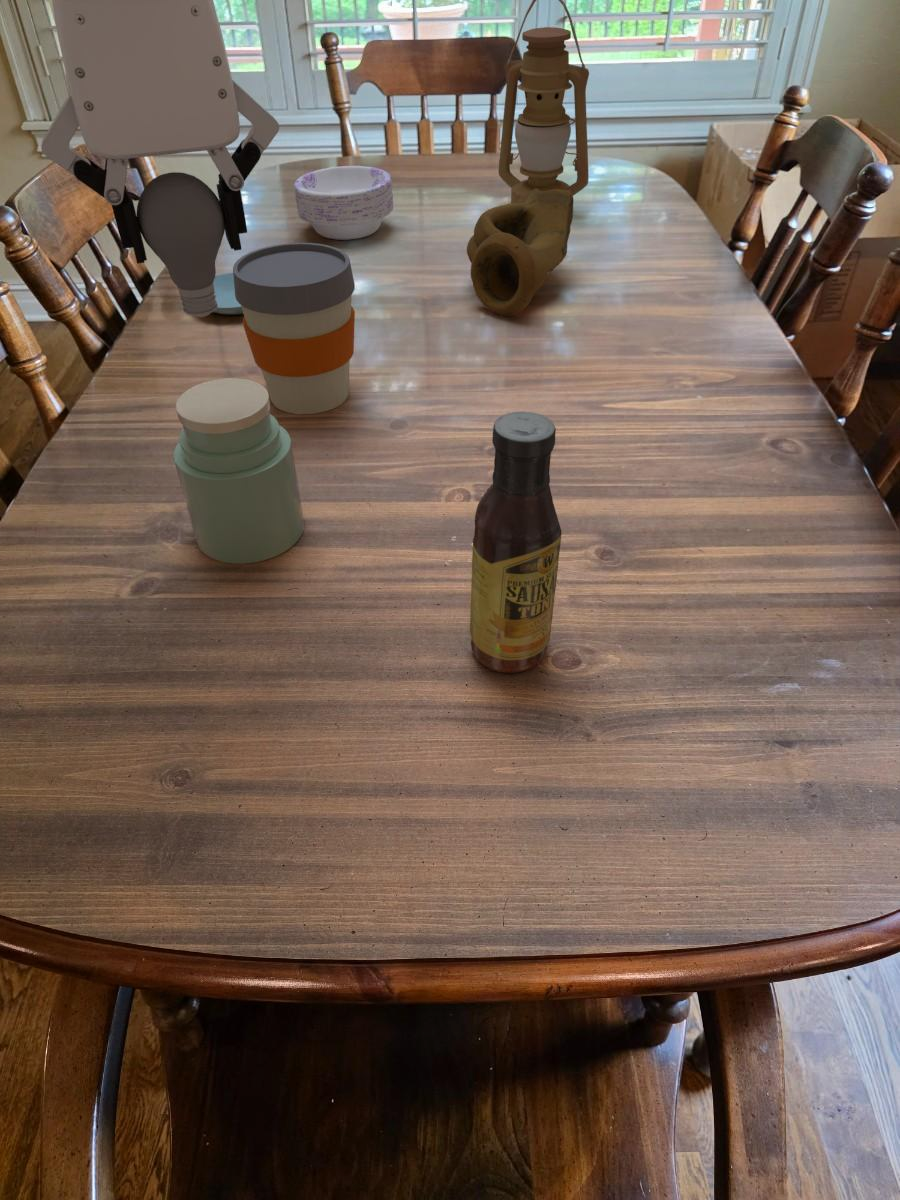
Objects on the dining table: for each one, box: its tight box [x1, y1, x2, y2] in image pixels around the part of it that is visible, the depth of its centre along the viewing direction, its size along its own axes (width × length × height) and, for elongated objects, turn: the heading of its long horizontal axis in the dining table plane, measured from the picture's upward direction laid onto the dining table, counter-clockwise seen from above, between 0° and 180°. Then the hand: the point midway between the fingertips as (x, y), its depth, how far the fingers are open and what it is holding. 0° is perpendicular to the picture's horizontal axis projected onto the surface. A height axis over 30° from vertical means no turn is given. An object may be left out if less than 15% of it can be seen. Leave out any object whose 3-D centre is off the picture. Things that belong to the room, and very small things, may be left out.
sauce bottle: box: [469, 411, 563, 674], centre depth 62 cm, size 6×6×20 cm
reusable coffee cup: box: [232, 242, 356, 415], centre depth 95 cm, size 13×13×15 cm
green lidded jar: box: [173, 377, 305, 565], centre depth 76 cm, size 10×10×14 cm
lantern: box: [498, 0, 590, 204], centre depth 135 cm, size 15×10×30 cm
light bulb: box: [136, 171, 225, 318], centre depth 63 cm, size 6×6×10 cm
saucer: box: [213, 272, 244, 316], centre depth 118 cm, size 12×12×2 cm
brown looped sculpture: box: [466, 188, 574, 317], centre depth 119 cm, size 18×13×22 cm
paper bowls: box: [293, 165, 394, 241], centre depth 137 cm, size 15×15×8 cm
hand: (187, 248), depth 63 cm, fingers closed on light bulb, 6 cm apart
